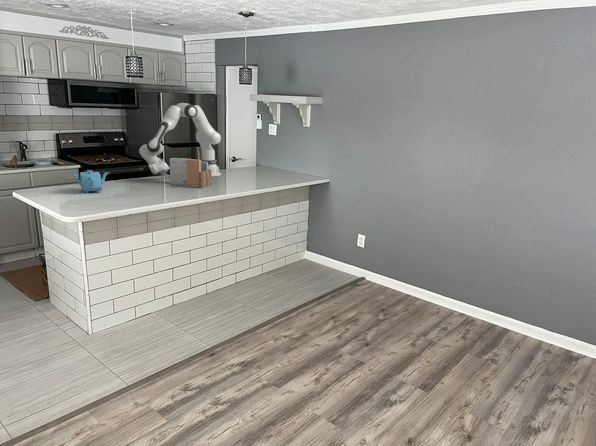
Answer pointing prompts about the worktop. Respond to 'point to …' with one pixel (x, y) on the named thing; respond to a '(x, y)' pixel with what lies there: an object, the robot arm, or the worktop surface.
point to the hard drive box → (178, 171)
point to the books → (195, 171)
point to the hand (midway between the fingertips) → (166, 175)
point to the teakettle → (90, 181)
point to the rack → (205, 178)
